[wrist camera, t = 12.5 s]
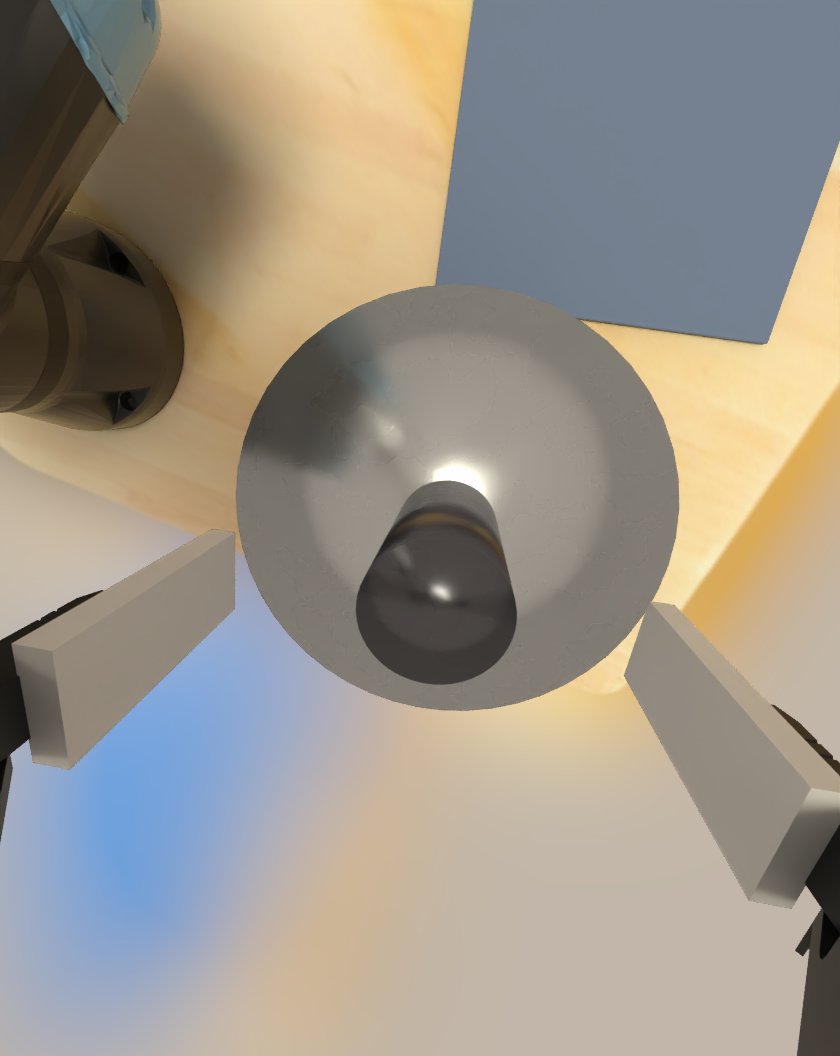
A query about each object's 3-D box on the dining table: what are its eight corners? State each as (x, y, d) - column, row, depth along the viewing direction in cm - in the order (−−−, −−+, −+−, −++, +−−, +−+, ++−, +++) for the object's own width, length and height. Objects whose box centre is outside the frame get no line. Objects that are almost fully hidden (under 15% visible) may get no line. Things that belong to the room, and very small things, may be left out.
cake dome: (312, 577, 39) (122, 810, 18) (330, 308, 33) (58, 145, 11) (558, 619, 38) (681, 924, 17) (631, 350, 32) (1003, 262, 10)
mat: (434, 299, 32) (433, 297, 31) (495, -154, 25) (495, -166, 24) (761, 344, 31) (767, 343, 30) (924, -118, 24) (936, -131, 23)
